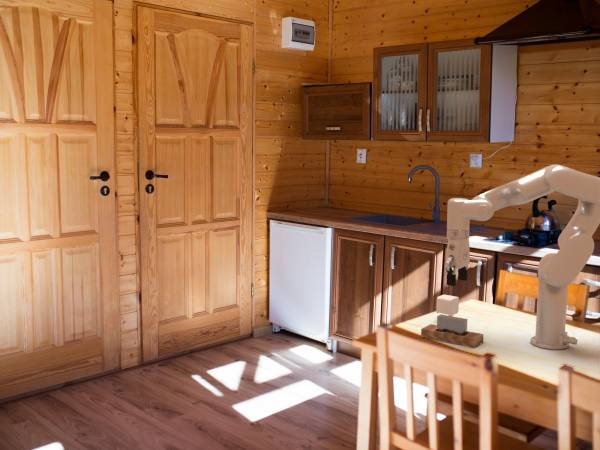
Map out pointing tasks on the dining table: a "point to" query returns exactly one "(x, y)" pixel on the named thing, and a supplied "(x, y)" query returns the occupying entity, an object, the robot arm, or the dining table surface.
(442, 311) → the security camera
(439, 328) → the grey rectangular block
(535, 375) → the dining table surface
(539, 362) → the dining table surface
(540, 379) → the dining table surface
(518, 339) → the dining table surface
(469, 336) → the wooden frame
